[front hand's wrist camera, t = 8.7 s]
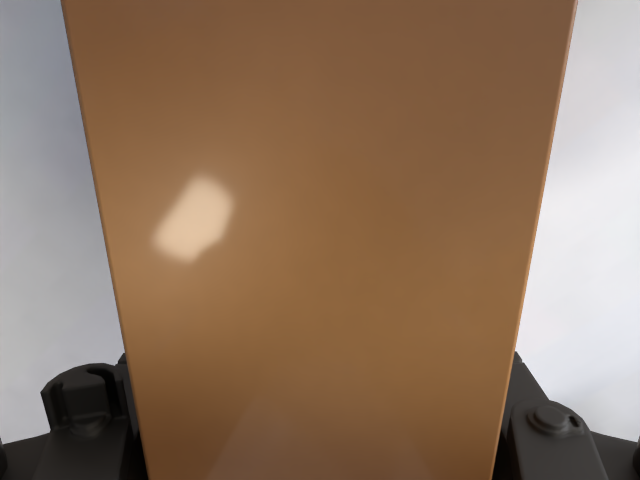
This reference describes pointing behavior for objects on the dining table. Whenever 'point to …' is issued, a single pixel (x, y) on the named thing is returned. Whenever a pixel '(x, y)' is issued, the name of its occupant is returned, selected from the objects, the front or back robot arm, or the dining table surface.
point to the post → (319, 223)
